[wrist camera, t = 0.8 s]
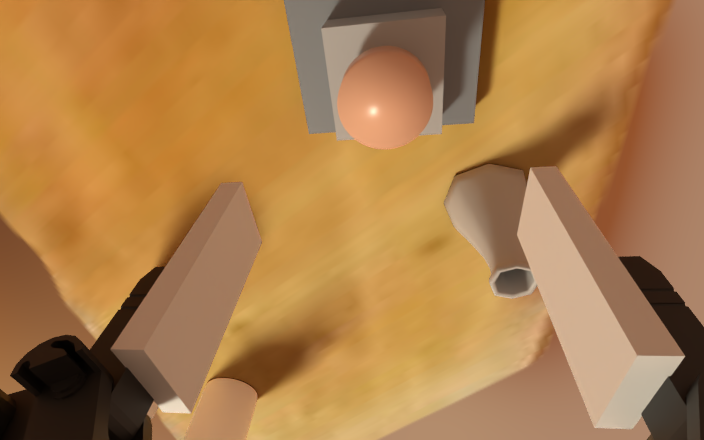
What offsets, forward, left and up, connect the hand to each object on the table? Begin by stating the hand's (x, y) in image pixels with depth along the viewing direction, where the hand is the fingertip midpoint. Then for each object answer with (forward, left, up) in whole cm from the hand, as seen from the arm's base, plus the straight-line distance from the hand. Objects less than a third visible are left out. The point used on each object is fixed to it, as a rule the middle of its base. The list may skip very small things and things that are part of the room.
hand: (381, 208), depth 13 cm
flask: (+12, +8, -18) cm, 23 cm away
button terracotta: (0, 0, -14) cm, 14 cm away
